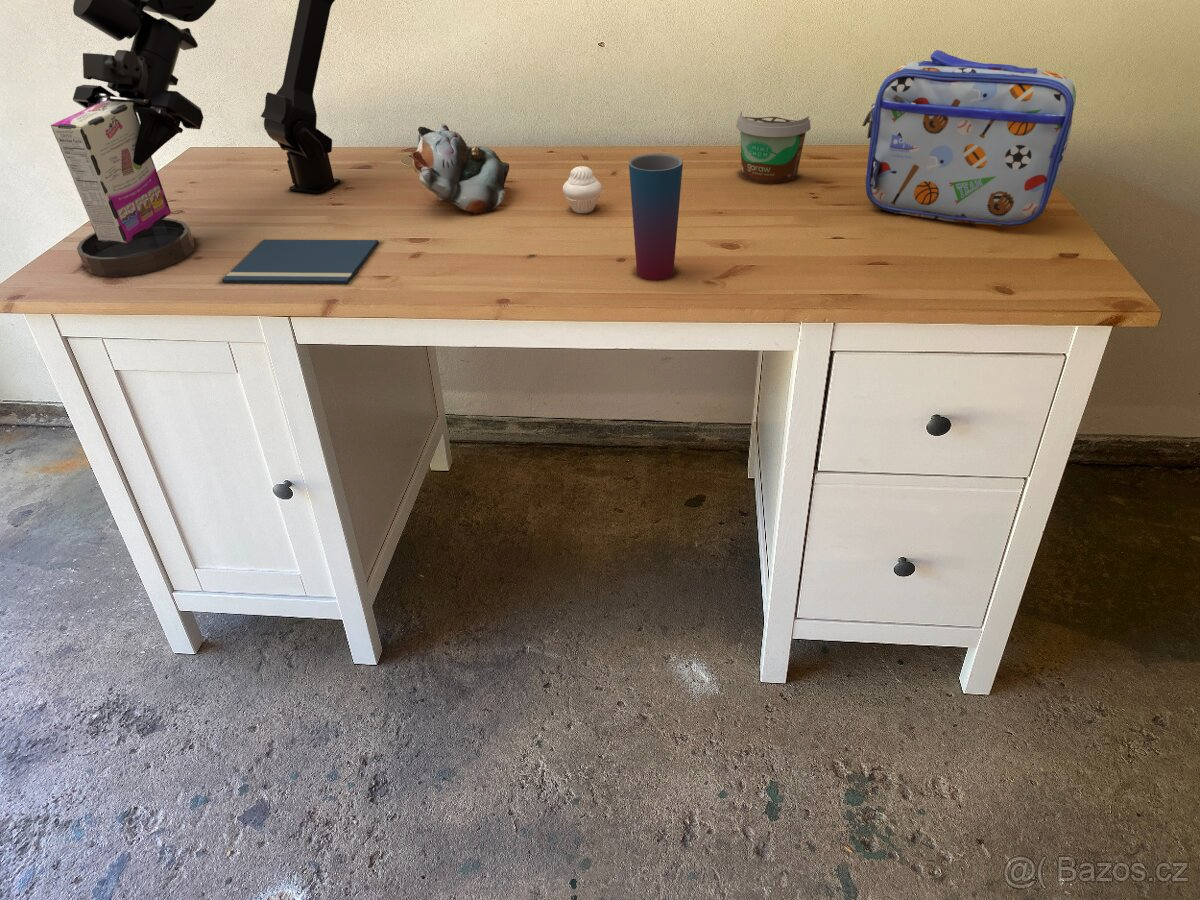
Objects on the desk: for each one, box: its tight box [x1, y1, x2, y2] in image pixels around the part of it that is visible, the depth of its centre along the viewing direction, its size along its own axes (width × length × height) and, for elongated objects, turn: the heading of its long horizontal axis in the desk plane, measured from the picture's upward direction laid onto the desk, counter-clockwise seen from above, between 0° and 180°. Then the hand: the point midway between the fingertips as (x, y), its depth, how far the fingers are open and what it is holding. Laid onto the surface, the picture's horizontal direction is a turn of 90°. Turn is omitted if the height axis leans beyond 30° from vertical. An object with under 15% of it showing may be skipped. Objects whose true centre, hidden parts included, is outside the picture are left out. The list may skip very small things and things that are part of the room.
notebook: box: [221, 239, 379, 285], centre depth 120 cm, size 18×14×1 cm
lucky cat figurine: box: [410, 123, 510, 215], centre depth 134 cm, size 15×12×14 cm
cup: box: [628, 152, 684, 281], centre depth 109 cm, size 7×7×15 cm
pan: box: [76, 217, 195, 278], centre depth 124 cm, size 15×15×3 cm
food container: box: [735, 110, 812, 185], centre depth 138 cm, size 12×6×10 cm, turn 68°
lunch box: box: [861, 49, 1077, 227], centre depth 120 cm, size 28×10×22 cm, turn 62°
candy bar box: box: [50, 100, 172, 243], centre depth 117 cm, size 11×5×16 cm, turn 169°
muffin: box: [562, 165, 603, 214], centre depth 131 cm, size 6×6×7 cm
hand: (122, 162), depth 118 cm, fingers closed on candy bar box, 5 cm apart
